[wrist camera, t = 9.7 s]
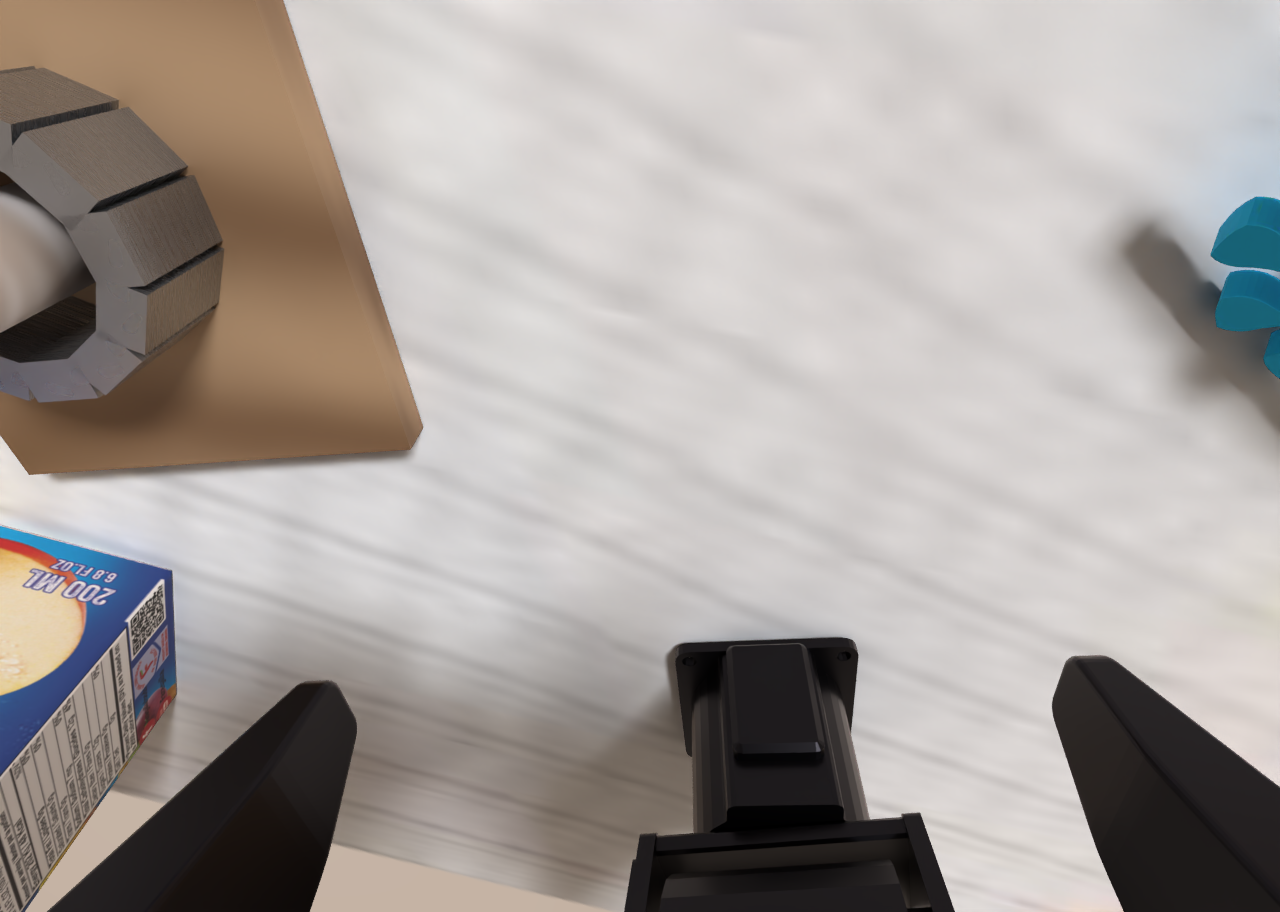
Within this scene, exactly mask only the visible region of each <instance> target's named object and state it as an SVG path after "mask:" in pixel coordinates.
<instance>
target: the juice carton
mask: <svg viewBox="0 0 1280 912" xmlns="http://www.w3.org/2000/svg"><path fill="white" fill-rule="evenodd" d="M176 693H177V692H176V666H175V640H174V614H173V588H172V571H171V570H169V569H165V568H162V567H158V566H154V565H150V564H147V563H143V562H139V561H135V560H131V559H128V558H124V557H120V556H116V555H113V554H109V553H105V552H101V551H97V550H94V549H90V548H86V547H82V546H79V545H75V544H71V543H67V542H63V541H60V540H56V539H52V538H48V537H45V536H41V535H37V534H33V533H29V532H26V531H22V530H18V529H14V528H11V527H7V526H3V525H0V912H25V910H26V909H27V908H28V906H29V905H30V903H31V902H32V900H33V899H34V897H35V896H36V895H37V893H38V892H39V890H40V889H41V887H42V886H43V885H44V883H45V882H46V880H47V879H48V877H49V876H50V875H51V873H52V871H53V870H54V869H55V867H56V866H57V865H58V863H59V861H60V860H61V859H62V857H63V856H64V854H65V853H66V852H67V850H68V849H69V847H70V846H71V844H72V843H73V842H74V840H75V839H76V837H77V836H78V834H79V833H80V832H81V830H82V829H83V827H84V826H85V824H86V823H87V821H88V820H89V818H90V817H91V816H92V814H93V813H94V811H95V810H96V809H97V807H98V806H99V804H100V802H101V801H102V800H103V798H104V797H105V796H106V794H107V793H108V791H109V790H110V789H111V787H112V786H113V784H114V783H115V781H116V780H117V779H118V777H119V776H120V774H121V773H122V771H123V770H124V768H125V767H126V766H127V764H128V763H129V761H130V760H131V758H132V757H133V756H134V754H135V753H136V751H137V750H138V748H139V747H140V746H141V744H142V743H143V741H144V740H145V738H146V737H147V736H148V734H149V733H150V731H151V730H152V728H153V727H154V725H155V724H156V723H157V721H158V720H159V718H160V717H161V715H162V714H163V713H164V711H165V710H166V708H167V707H168V705H169V704H170V703H171V701H172V700H173V698H174V697H175V695H176Z"/></svg>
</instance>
